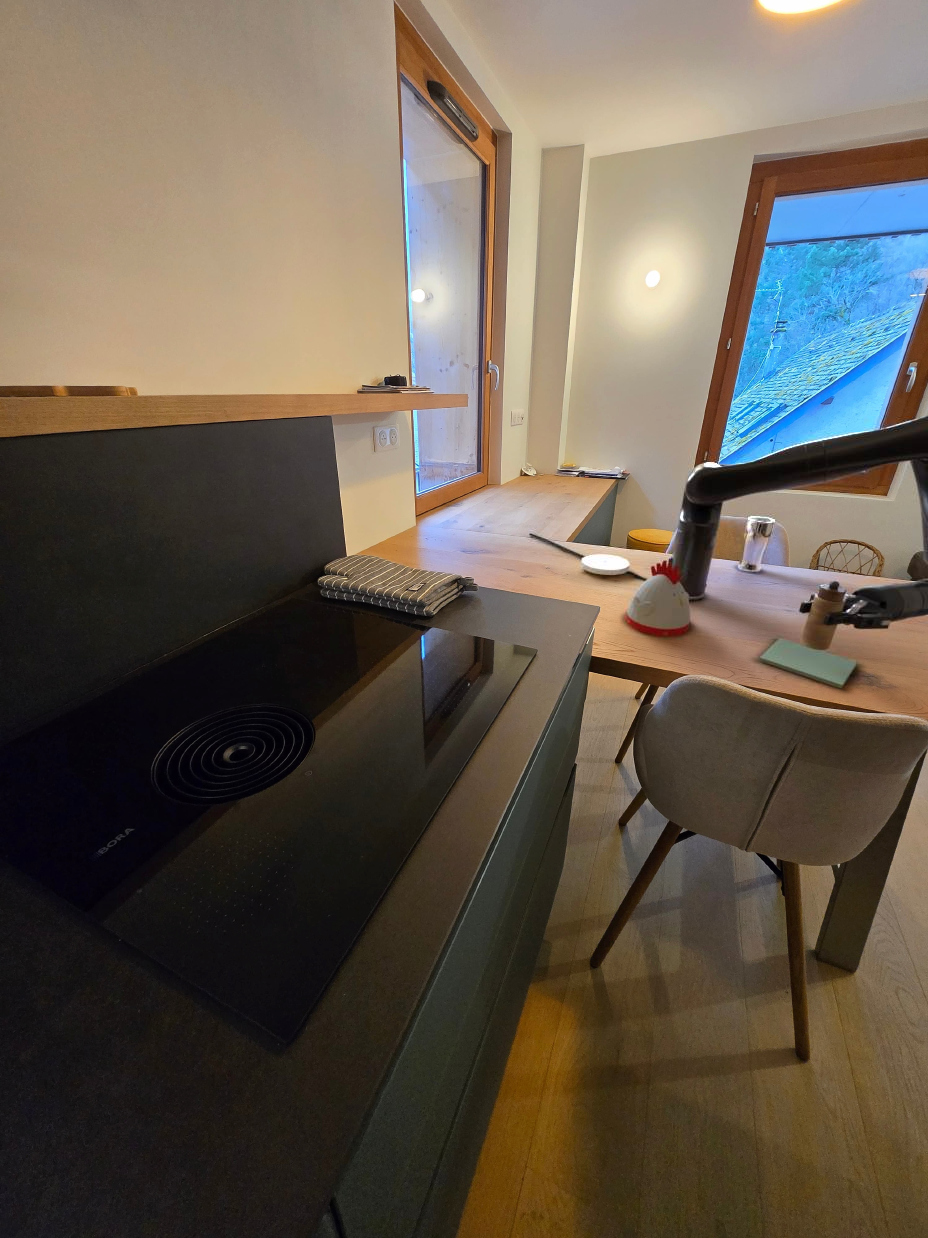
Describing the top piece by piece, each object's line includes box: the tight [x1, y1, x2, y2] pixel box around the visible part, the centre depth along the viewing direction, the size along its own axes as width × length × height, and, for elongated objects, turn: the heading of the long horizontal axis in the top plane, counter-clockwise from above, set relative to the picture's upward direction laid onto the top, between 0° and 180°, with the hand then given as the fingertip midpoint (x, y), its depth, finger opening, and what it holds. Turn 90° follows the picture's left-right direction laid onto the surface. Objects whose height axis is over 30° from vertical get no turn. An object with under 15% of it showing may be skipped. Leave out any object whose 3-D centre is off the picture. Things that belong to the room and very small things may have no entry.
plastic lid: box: [580, 553, 631, 576], centre depth 147 cm, size 14×14×2 cm
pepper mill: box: [799, 580, 847, 651], centre depth 94 cm, size 5×5×13 cm
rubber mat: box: [759, 637, 858, 689], centre depth 98 cm, size 14×12×1 cm
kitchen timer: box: [625, 559, 691, 637], centre depth 113 cm, size 14×14×15 cm
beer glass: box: [737, 516, 776, 573], centre depth 144 cm, size 7×7×15 cm
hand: (813, 613), depth 93 cm, fingers closed on pepper mill, 5 cm apart
